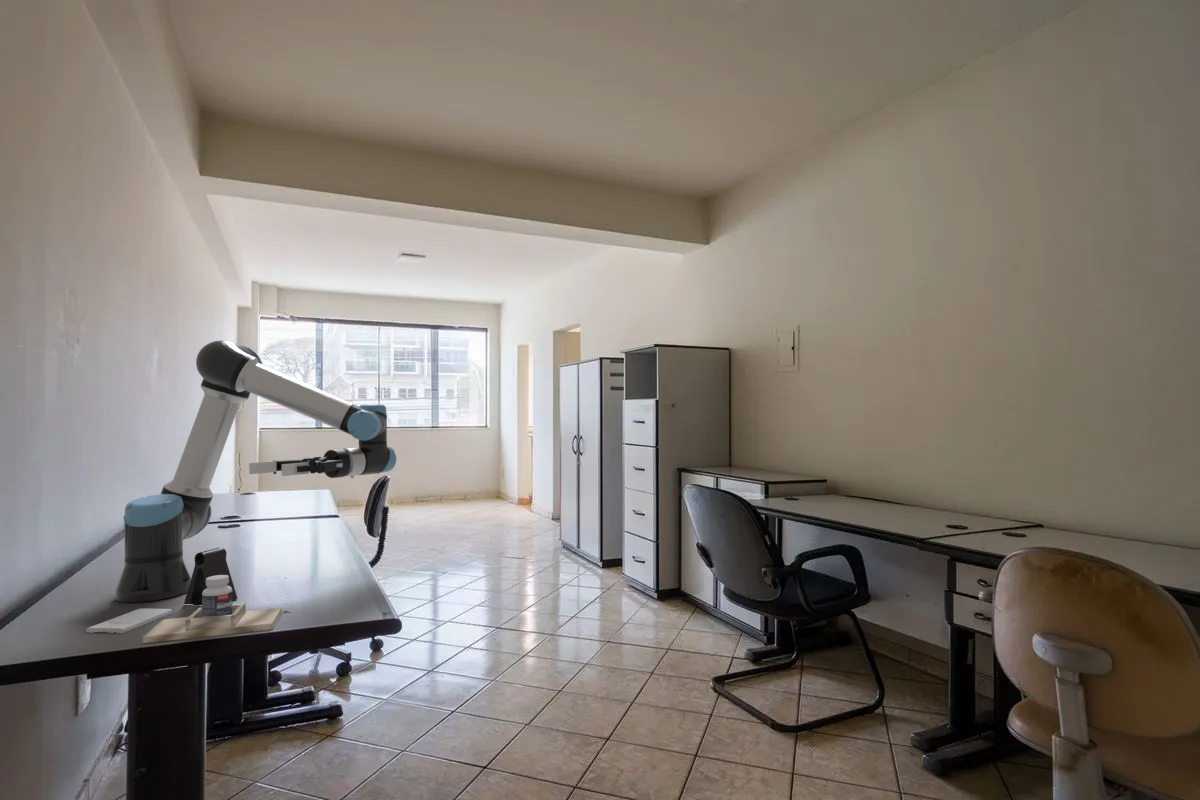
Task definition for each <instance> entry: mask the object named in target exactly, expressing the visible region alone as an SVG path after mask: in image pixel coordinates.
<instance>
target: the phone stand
mask: <svg viewBox="0 0 1200 800" xmlns="http://www.w3.org/2000/svg"><path fill="white" fill-rule="evenodd" d="M229 568H230V567H229V565H228V562H227V550H226V549H225V548H224V547H216V548H212V549H209V550H204V551H200V552H198V553H196V554H195V556H194V568H193V571H192V575H191V577H190V578H191V581H190V584H189V588H188V591H187V592H186V595H185V597H184V598H185V599H184V602H183V605H184V604H193V605H202V592H203V591H204V590H205V589H206V588H207V586H206V578H208V577H211V576H216V575H228V576H229V583H228V584H227V585H228V586H230V587H231V588H232V600H234V601H236V600H235V599H237V600H238V595H237V592H236V588H235V585H234V582H233V580H232V579H233V578H232V575H231V572H230V569H229Z"/></svg>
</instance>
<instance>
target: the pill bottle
mask: <svg viewBox="0 0 1200 800" xmlns="http://www.w3.org/2000/svg"><path fill="white" fill-rule="evenodd" d="M228 583H229V576H228V575H216V576H211V577H208V578H206V586H207V588H206V589H205V590H204V591H203V592H202V606H201V608H202V617H212V616H222V615H232V605H233V601H232V588H231V587H230V586H228V585H227V584H228Z"/></svg>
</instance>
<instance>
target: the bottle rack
mask: <svg viewBox="0 0 1200 800" xmlns="http://www.w3.org/2000/svg"><path fill="white" fill-rule="evenodd" d="M246 604H247V603H235V604H233V603H232V615H222V616H212V617H202V607H198V608H197V609H196V610H195V611H194V612H192V613H191V614H190V615H189V616H187V617H186V616H184V617H174V618H166V619H165V618H164V619H162V620H161V621H160V622H159V623H158V624H156V625H155V626H154V627H153V628H152V629H150V630H149V631H148V632H147V633H146V634H144V635H143V636H142V644H147V643H149V644H150V643H157V642H159V641H160V642H168V641H177V640H186V639H197V638H205V637H214V636H224V635H233V634H241V633H242V632H244V633H251V632H250V631H253V632H261V630H262V631H271V629H272V628H274V627H275V625H276V624H275V623H277V622H278V621H277V620H279V619H280V617H281V616H282V614H283V608H282V607H277V608H267V609H256V610H247V606H246ZM281 613H282V614H281ZM280 615H281V616H280ZM278 618H279V619H278ZM269 629H270V630H269ZM272 630H273V629H272Z"/></svg>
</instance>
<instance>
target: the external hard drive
mask: <svg viewBox="0 0 1200 800" xmlns="http://www.w3.org/2000/svg"><path fill="white" fill-rule="evenodd" d="M170 613H172V614H173V610H172V609H171V608H138V609H135V610H131V611H130V612H127V613H124V614H121V615H119V616H116V617H114V618H110V619H108V620H106V621H103V622H100V623H97V624H95V625H92V626H90V627H86V633H94V632H102V633H108V634H111V633H113V634H124V633H123V632H125V633H127V632H130V631H132V630H131V629H133V630H135V629H137V627H138V628H140V627H143V626H145V625H148V624H150V623H153V622H155V621H157V619H158V620H160V619H162V618H161V617H163V618H165V617H167V616H166V615H168V614H170ZM170 615H171V614H170ZM164 616H165V617H164ZM168 616H169V615H168ZM159 618H160V619H159ZM152 621H153V622H152ZM149 622H150V623H149ZM147 623H148V624H147ZM144 624H145V625H144ZM142 625H143V626H142ZM139 626H140V627H139ZM134 628H135V629H134ZM129 630H130V631H129ZM126 631H127V632H126ZM114 632H116V633H114ZM118 632H120V633H118Z"/></svg>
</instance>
